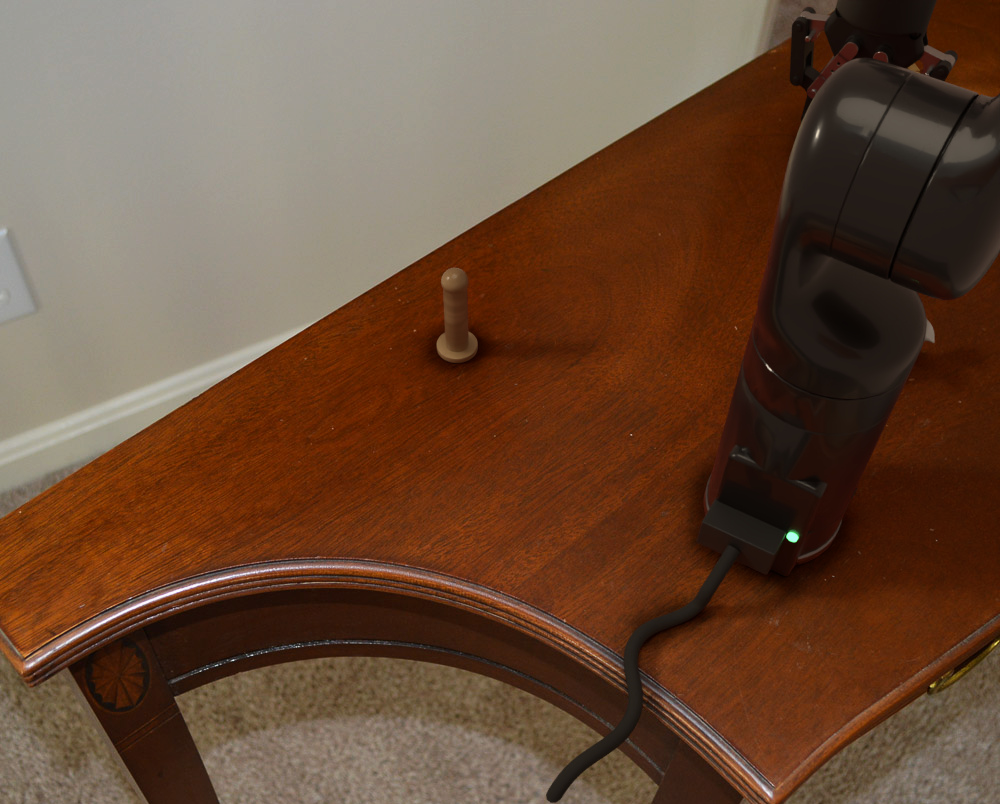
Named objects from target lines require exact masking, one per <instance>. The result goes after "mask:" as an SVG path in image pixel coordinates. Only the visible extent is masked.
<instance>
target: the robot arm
mask: <svg viewBox="0 0 1000 804" xmlns="http://www.w3.org/2000/svg"><path fill="white" fill-rule="evenodd" d="M937 1H938V0H836V5H835V8H834V10H833V11H832V12H831V13H830V14H829V15H828V14H821V13H817V12H816V9H814V7H811V6H806V7H805V8H804V9H803V10H802V11H801V12H800V13H799V14H798V16H797V17H796V18H795V20H794V21H793V23H792V24H791V35H790V36H791V38H790V39H791V40H790V60H789V61H790V63H789V82H790V84H791V85H792V86H794V87H801V88H802V89H803V90H805V93H806V98H805V102H804V106H803V109H802V114H801V116H800V125H799V127H798V131H797V133H796V136H795V139H794V142H793V145H792V148H791V150H790V154H789V157H788V160H787V164H786V168H785V172H784V176H783V180H782V185H781V190H780V193H779V200H778V204H777V209H776V214H775V220H774V224H773V225H774V226H773V230H772V236H771V241H770V247H769V251H768V255H767V260H766V264H765V269H764V273H763V275H762V280H761V284H760V288H759V293H758V297H757V304H756V305H757V306H756V312H755V314H754V319H753V322H752V326H751V329H750V332H749V336H748V340H747V344H746V347H745V350H744V353H743V357H742V359H741V360H742V361H741V363H740V367H739V371H738V376H737V378H736V381H735V385H734V390H733V393H732V397H731V401H730V404H729V407H728V411H727V416H726V419H725V422H724V425H723V430H722V432H721V436H720V440H719V444H718V448H717V451H716V455H715V459H714V464H713V467H712V471H711V473H710V475H709V478H708V480H707V482H706V486H705V490H704V495H703V502H702V503H703V504H702V505H703V512H704V517H703V519H702V521H701V523H700V527H699V531H698V534H697V538H696V543H697V544H699V545H701V546H703V547H705V548H707V549H710V550H712V551H714V552H716V553H718V554H720V555H721V556H720V557H719V559H718V560H717V562H716V564H715V565H714V566H713V568H712V570H711V571H710V573H709V574H708V576H707V577H706V579H705V580H704V582H703V583H702V585H701V587H700V589H699V590H698V592H697V593H696V595H695V597H694V598H693V599H692V600H690V602H688V603H687V604H686V605H684V606H683V607H681V608H679V609H677V610H674V611H671V612H669V613H666V614H662V615H659V616H657V617H654V618H652V619H649V620H647V621H645V622H643V623H642V624H641V625H639V626H638V627H637V628H636V629H634V631H633V632H632V634H630V636H629V638H628V640H627V641H626V644H625V647H624V650H623V652H624V653H623V670H624V676H625V677H624V678H625V683H626V688H627V696H628V697H627V700H628V701H627V706H626V710H625V713H624V714H623V716H622V718H621V720H620V721H619V723H618V724H617V725H616V726H615V727H614V728H613V730H611V732H609V733H608V734H607V735H605V736H604V737H603V738H602V739H599V741H597V742H595V743H594V744H592V745H591V746H589V747H588V748H587V749H585V750H583V751H582V752H581V753H580V754H578V755H577V756H575V757H574V758H573V759H572V760H571V761H570V762H569V763H568V764H566V765H565V767H564V768H563V769H562V770H561V771H560V772H559V774H558V775H557V776H556V777H555V779H554V780H553V781H552V783H551V785H550V786H549V788H548V789H547V792H546V794H545V797H546V798H545V799H546V801H548V802H549V803H550V804H553V803H554V804H557V803H558V802H559V801H561V800H562V798H563V797H564V795H565V794H566V792H567V791H568V789H569V788H570V787H571V785H572V784H573V783H574V782H575V781H576V780H577V779H578V778H579V777H580V776H581V775H582V774H583V773H584V772H586V770H588V769H589V768H590V767H592V766H593V765H594V764H596V763H598V762H599V761H601V760H602V759H603V758H604V757H606V756H608V755H610V754H611V753H612V752H614V751H615V750H616V749H618V748H619V747H620V746H621V745H622V744H623V743H625V741H626V740H627V739H628V738H629V737H630V736H631V734H632V733H633V732H634V731H635V728H636V726H637V725H638V723H639V721H640V719H641V715H642V713H643V712H642V711H643V706H644V692H643V691H644V690H643V684H642V678H641V674H640V669H639V654H640V651H641V649H642V646H644V643H645V642H646V641H648V639H649V638H650V637H652V636H653V635H656V634H657V633H659V632H662V631H665V630H667V629H670V628H673V627H676V626H678V625H681V624H683V623H686V622H688V621H689V620H691V619H692V618H694V617H695V616H697V615H698V614H699V613H701V612H702V611H703V610H704V609H705V608H706V607H707V606H708V604H709V603H710V601H711V600H712V599H713V597H714V595H715V593H716V592H717V590H718V589H719V588H720V586H721V585H722V583H723V581H724V579H726V577H727V575H728V573H729V572H730V570H731V568H732V567H733V565H734V564H735V563H736V562H737V563H740V564H741V565H744V566H746V567H748V568H750V569H752V570H755V571H757V572H759V573H761V574H763V575H765V576H767V575H768V574H769V572H770V571H772V572H774V573H777V574H779V575H781V576H783V577H788V576H790V574H791V572H792V570H793V569H794V567H795V566H798V565H802V564H806V563H808V562H811V561H812V560H814V559H817V558H818V557H820V556H821V555H822V554H824V553H825V552H826V551H827V550H828V549H829V548H830V546H831V545H832V544H833V542H834V540H835V538H836V537H837V535H838V532H839V530H840V528H841V526H842V522H843V518H844V515H845V513H846V512H847V509H848V507H849V505H850V502H851V500H853V499H854V497H855V495H856V492H857V490H858V485H859V483H860V481H861V478H862V476H863V474H864V472H865V470H866V468H867V466H868V463H869V462H870V461H871V457H872V456H873V453H874V452H875V449H876V447H877V445H878V442H879V440H880V438H881V436H882V434H883V432H884V430H885V428H886V426H887V423H888V421H889V420H890V416H891V414H892V412H893V410H894V408H895V406H896V404H897V402H898V400H899V398H900V397H901V394H902V391H903V389H904V387H905V385H906V384H907V381H908V379H909V376H910V374H911V373H912V371H913V368H914V366H915V363H916V362H917V360H918V357H919V355H920V353H921V351H922V348H923V346H924V342H925V341H924V340H925V336H926V327H927V319H928V317H927V313H926V309H925V306H924V303H923V301H922V298H921V297H920V295H919V294H921V295H924V296H927V297H930V298H932V299H936V300H941V301H953V300H956V299H959V298H962V297H963V296H964V295H966V294H968V293H969V292H970V291H971V290H972V289H973V288H975V286H976V285H978V284H979V283H980V281H981V280H982V279H983V277H985V275H986V274H987V272H988V271H989V270H990V268H991V267H992V265H993V264H994V262H995V261H996V259H997V258H998V256H999V254H1000V92H999V93H998V94H997V95H995V96H989V95H984V94H982V93H981V94H979V92H976V91H973V90H971V89H968V88H965V87H961V86H959V85H956V84H952V83H950V82H947V81H946V79H947V78H948V77H949V75H950V73H951V71H952V70H953V68H954V66H955V65H956V63H957V61H958V59H959V55H958V53H957V52H956V50H952V49H949V50H946V51H944V52H942V51H940V50H938V49H936V48H934V47H933V46H931V45H929V39H928V27H929V25H930V21H931V18H932V15H933V13H934V10H935V7H936V5H937ZM822 32H824V34H825V37H826V40H827V42H828V44H829V46H830V50H831V52H832V55H833V56H832V57H831V58H830V59H829V61H828V62H827V63H826V65H825V66H824V67H823V68H822V69H821V71H818V70H817V69H815V67H814V57H815V56H814V54H815V52H814V51H815V42H816V41H817V40H818V38H819V36H821V33H822ZM918 61H919V62H920V63H922V65H923V66H922V70H921V72H920V73H918V72H917V73H916V72H915V71H912V70H909V69H907V68H908V67H910V66H911V65H913V64H914V63H915V64H916V63H917V62H918Z"/></svg>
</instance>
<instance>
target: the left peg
mask: <svg viewBox="0 0 1000 804" xmlns="http://www.w3.org/2000/svg"><path fill="white" fill-rule="evenodd" d="M469 282H470V281H469V277H468V274H467V273H466V271H464V270H463V269H461V268H459V267H450V268H448V269H446V271H444V273H443V274H442V275H441V279H440V284H441V285H440V286H441V288H442V300H443V319H444V332H443V333H441V334H440V336H439V337H438V339H437V340H436V352H437V354H438V356H439V357H440V358H441V359H442V360H444V361H446V362H449V363H452V364H462V363H465V362H468V361H470V360H472V359H473V358H474V357H475V356H476V354H477V353H478V349H479V343H478V339H477V337H476V336H475V335H474V334H473V333H472V332H471V331H469V301H468V296H469V295H468V294H469V293H468V287H469Z"/></svg>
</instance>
